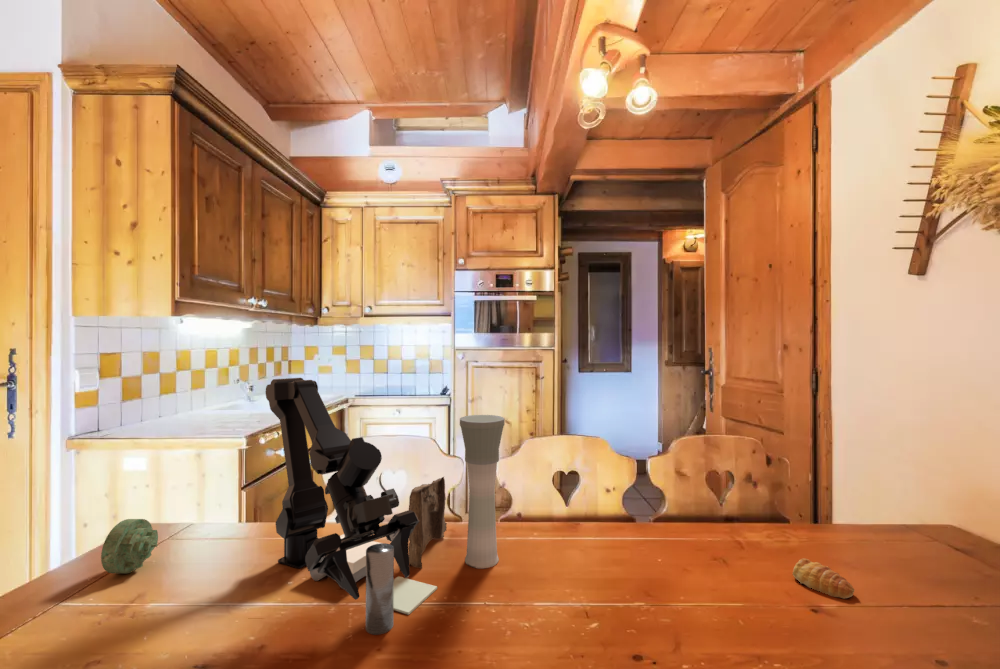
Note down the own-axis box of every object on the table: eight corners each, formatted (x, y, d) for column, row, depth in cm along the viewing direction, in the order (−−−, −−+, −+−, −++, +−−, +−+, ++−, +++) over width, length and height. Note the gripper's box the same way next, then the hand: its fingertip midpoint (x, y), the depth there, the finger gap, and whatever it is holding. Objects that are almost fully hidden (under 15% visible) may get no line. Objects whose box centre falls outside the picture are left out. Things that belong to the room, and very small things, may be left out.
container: (496, 547, 104) (496, 413, 104) (510, 567, 95) (510, 421, 95) (454, 553, 101) (455, 416, 101) (465, 574, 92) (465, 423, 92)
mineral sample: (421, 569, 94) (421, 494, 94) (402, 567, 95) (402, 493, 95) (448, 535, 110) (448, 471, 110) (432, 534, 111) (432, 470, 111)
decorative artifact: (140, 558, 98) (141, 511, 98) (173, 558, 98) (174, 511, 98) (100, 583, 88) (101, 531, 88) (137, 583, 88) (138, 531, 88)
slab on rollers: (307, 578, 90) (308, 552, 90) (344, 556, 99) (344, 533, 99) (351, 591, 86) (351, 564, 86) (385, 567, 95) (386, 542, 95)
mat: (367, 602, 82) (367, 599, 82) (398, 578, 90) (398, 576, 90) (408, 614, 78) (408, 612, 78) (437, 588, 86) (437, 586, 86)
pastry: (862, 595, 85) (861, 574, 85) (842, 605, 82) (841, 584, 82) (808, 572, 93) (808, 553, 93) (788, 580, 90) (788, 561, 90)
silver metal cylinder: (359, 630, 74) (360, 552, 74) (377, 615, 78) (378, 541, 78) (381, 637, 72) (382, 557, 72) (398, 622, 76) (399, 546, 76)
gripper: (313, 488, 72) (346, 586, 64) (413, 465, 85) (451, 544, 77) (292, 525, 77) (321, 619, 69) (390, 498, 90) (423, 574, 83)
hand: (383, 586), depth 74 cm, fingers open, 9 cm apart
